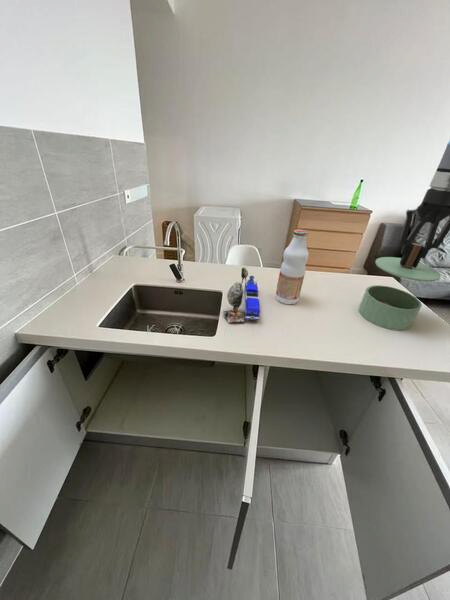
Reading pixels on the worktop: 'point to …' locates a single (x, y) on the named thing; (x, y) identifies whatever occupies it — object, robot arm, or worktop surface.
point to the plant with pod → (236, 300)
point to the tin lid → (408, 266)
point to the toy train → (251, 300)
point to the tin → (389, 307)
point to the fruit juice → (293, 269)
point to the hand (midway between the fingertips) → (407, 264)
